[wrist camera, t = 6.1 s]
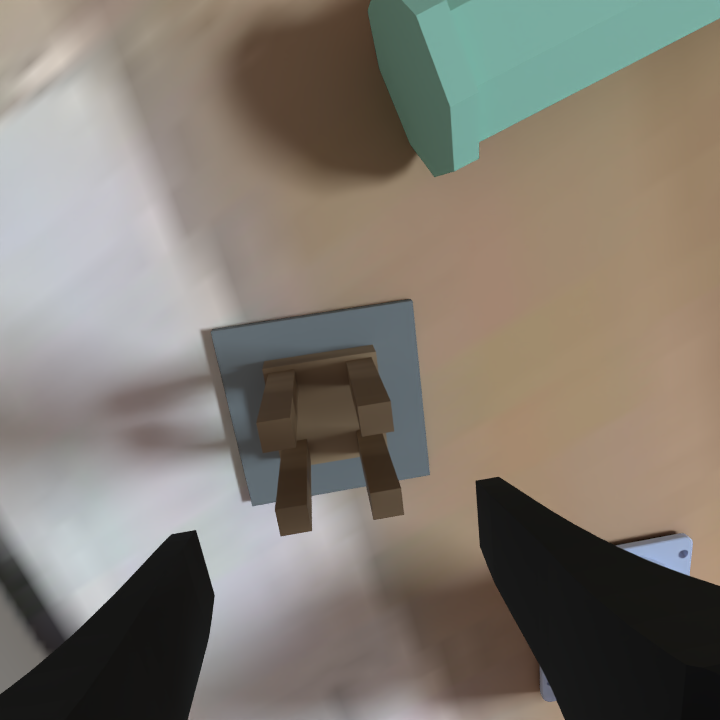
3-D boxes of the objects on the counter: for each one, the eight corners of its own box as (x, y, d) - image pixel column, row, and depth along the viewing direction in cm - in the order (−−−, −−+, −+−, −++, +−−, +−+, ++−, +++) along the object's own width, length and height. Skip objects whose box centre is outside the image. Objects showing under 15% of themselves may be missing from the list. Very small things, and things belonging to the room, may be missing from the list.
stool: (384, 440, 21) (410, 518, 15) (283, 457, 20) (275, 542, 15) (372, 344, 19) (396, 394, 14) (264, 361, 19) (247, 417, 14)
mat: (427, 470, 22) (429, 474, 21) (253, 500, 21) (252, 506, 21) (410, 298, 19) (412, 300, 19) (212, 329, 19) (210, 331, 18)
